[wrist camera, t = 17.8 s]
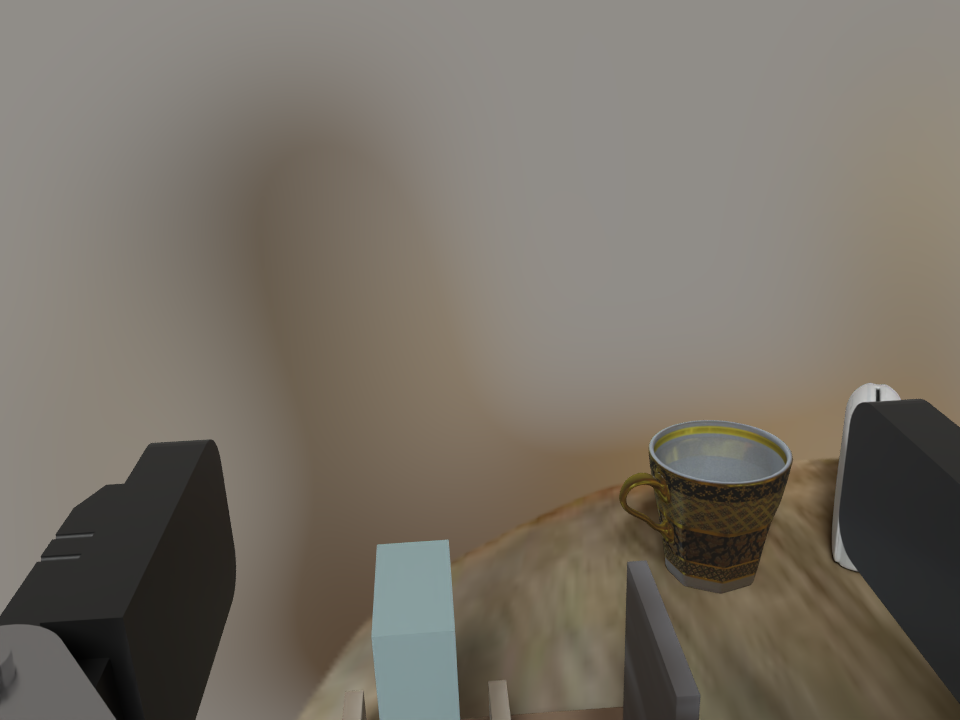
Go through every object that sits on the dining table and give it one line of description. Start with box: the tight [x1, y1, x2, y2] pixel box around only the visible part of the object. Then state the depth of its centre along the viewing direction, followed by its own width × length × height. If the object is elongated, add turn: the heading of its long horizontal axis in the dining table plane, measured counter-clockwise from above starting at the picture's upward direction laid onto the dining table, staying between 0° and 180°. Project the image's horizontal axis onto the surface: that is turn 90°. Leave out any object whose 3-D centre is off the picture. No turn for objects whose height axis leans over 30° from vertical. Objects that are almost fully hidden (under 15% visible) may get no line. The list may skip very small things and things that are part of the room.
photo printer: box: [832, 383, 901, 571], centre depth 70 cm, size 10×4×12 cm, turn 158°
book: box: [372, 540, 460, 720], centre depth 44 cm, size 4×7×14 cm, turn 4°
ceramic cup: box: [619, 420, 793, 593], centre depth 67 cm, size 13×10×10 cm
